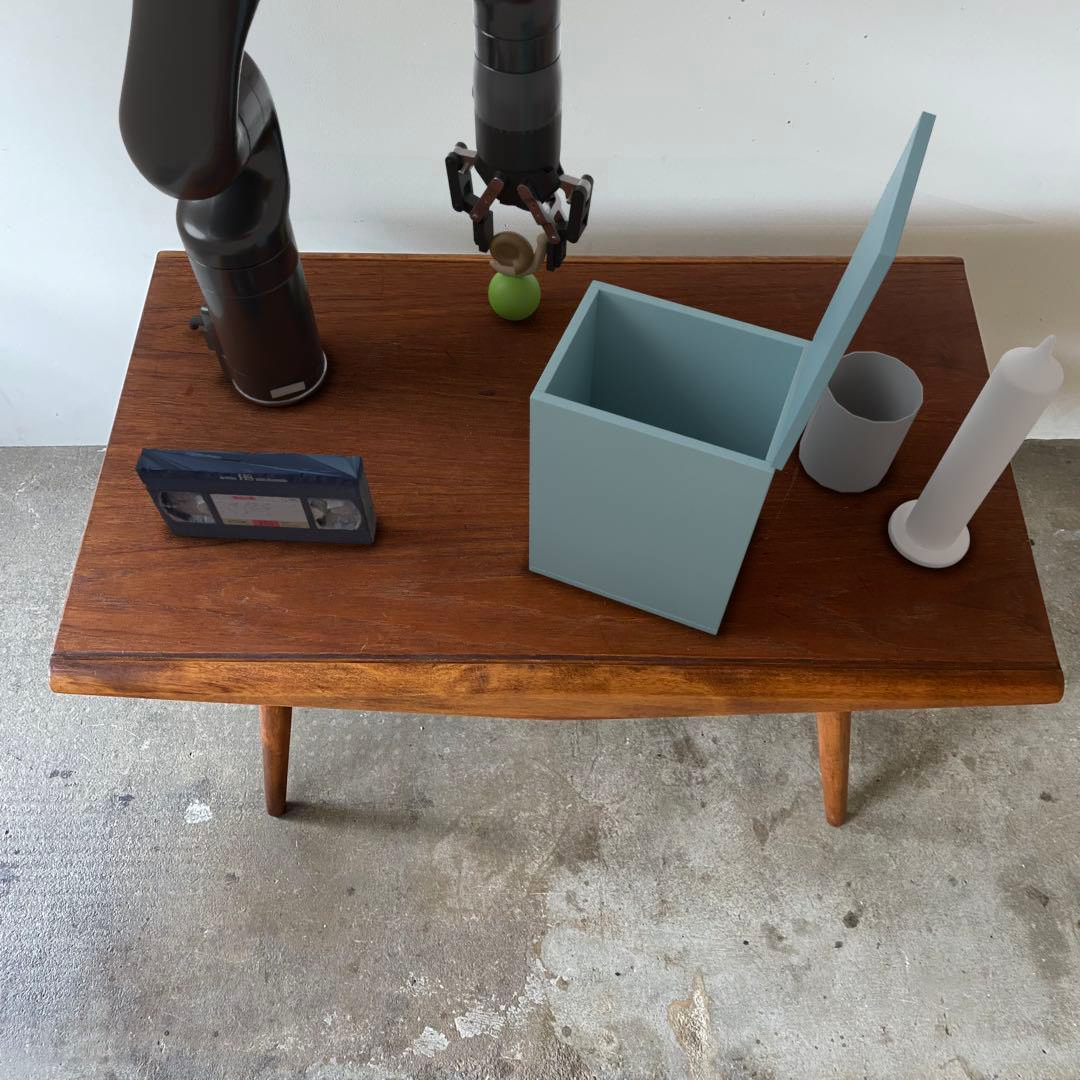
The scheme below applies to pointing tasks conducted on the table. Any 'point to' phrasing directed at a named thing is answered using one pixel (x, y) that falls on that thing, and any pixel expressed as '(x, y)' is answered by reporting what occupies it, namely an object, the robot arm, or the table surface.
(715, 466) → the chest
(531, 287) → the snail figurine
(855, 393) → the cup
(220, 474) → the vhs cassette tape
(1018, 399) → the candle
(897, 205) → the lid
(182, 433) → the table surface
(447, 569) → the table surface
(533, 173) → the robot arm
